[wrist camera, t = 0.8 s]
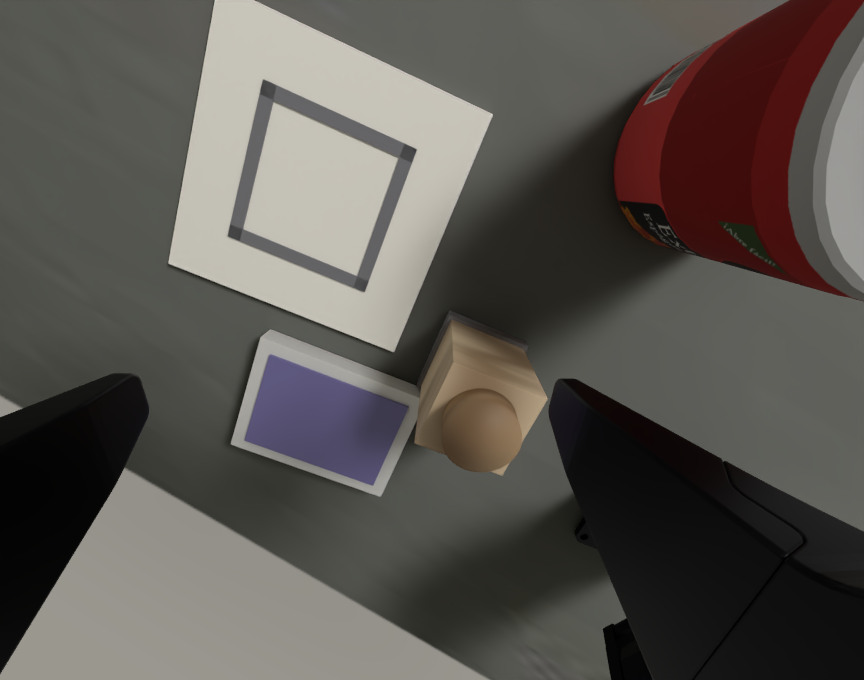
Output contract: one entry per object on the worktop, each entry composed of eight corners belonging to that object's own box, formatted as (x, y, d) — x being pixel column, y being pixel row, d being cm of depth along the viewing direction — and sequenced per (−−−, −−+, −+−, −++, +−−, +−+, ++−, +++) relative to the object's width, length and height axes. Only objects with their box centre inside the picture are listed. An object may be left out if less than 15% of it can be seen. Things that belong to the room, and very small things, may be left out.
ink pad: (427, 389, 22) (425, 401, 21) (383, 482, 25) (380, 498, 23) (270, 329, 21) (259, 338, 20) (240, 432, 24) (229, 445, 22)
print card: (492, 115, 17) (493, 114, 17) (394, 350, 22) (393, 353, 21) (221, -14, 16) (216, -18, 16) (172, 262, 20) (167, 263, 20)
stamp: (525, 341, 21) (563, 413, 14) (489, 408, 23) (508, 501, 16) (449, 309, 21) (451, 368, 14) (417, 380, 22) (405, 463, 15)
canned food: (588, 239, 19) (753, 299, 9) (634, 39, 16) (952, -209, 6) (747, 255, 19) (1092, 333, 9) (820, 59, 16) (1448, -156, 6)
